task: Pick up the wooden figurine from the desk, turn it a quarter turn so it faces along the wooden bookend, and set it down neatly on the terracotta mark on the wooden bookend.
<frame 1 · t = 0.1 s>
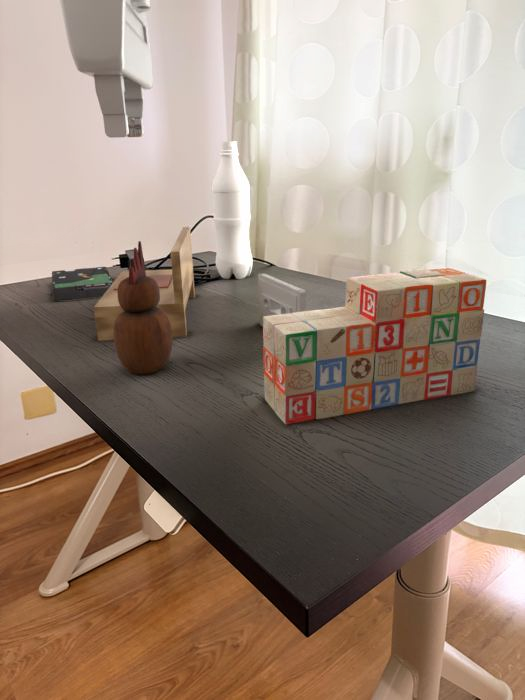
hand: (126, 137, 54), 26 cm above the table, tool pointing down, fingers open, 8 cm apart
stack of blocks: (370, 398, 61), on the table
disk drive: (83, 291, 108), on the table
wooden figurine: (146, 371, 70), on the table
water bottle: (234, 277, 114), on the table
wooden bookend: (152, 316, 90), on the table
cassette: (281, 337, 80), on the table
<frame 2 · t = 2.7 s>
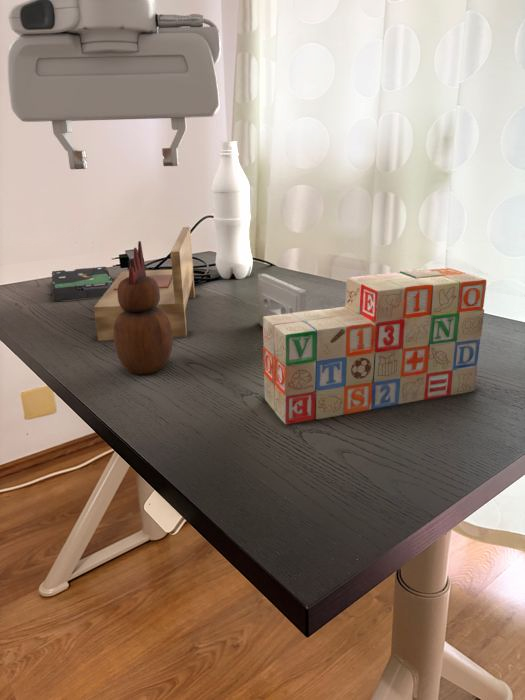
hand: (125, 167, 60), 23 cm above the table, tool pointing down, fingers open, 8 cm apart
nothing on the table moved.
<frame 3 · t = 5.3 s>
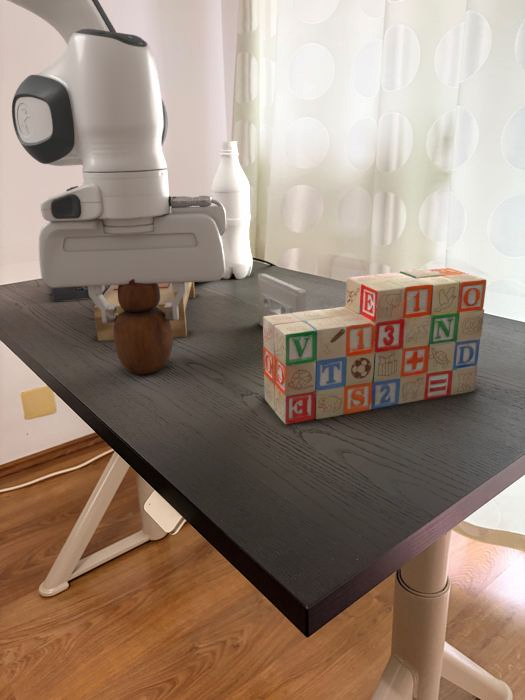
hand: (141, 320, 68), 6 cm above the table, tool pointing down, fingers closed on wooden figurine, 6 cm apart
wooden figurine: (146, 371, 70), on the table, touching gripper
everything else where it was.
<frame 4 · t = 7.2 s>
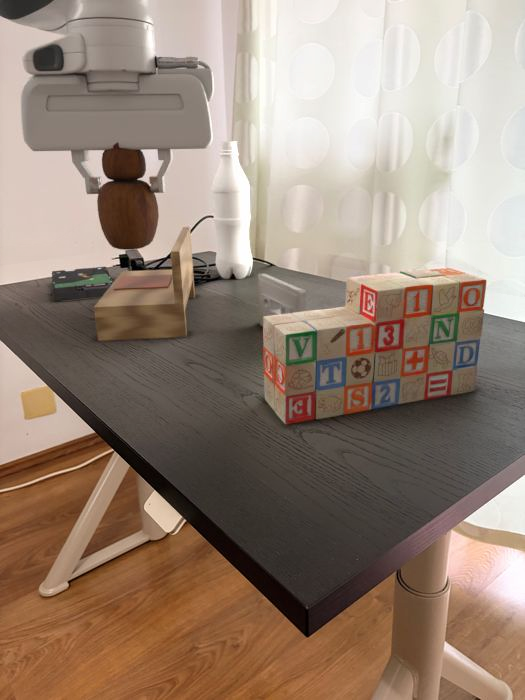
hand: (126, 193, 66), 20 cm above the table, tool pointing down, fingers closed on wooden figurine, 6 cm apart
wooden figurine: (131, 248, 68), point 14 cm above the table, touching gripper
everything else where it was.
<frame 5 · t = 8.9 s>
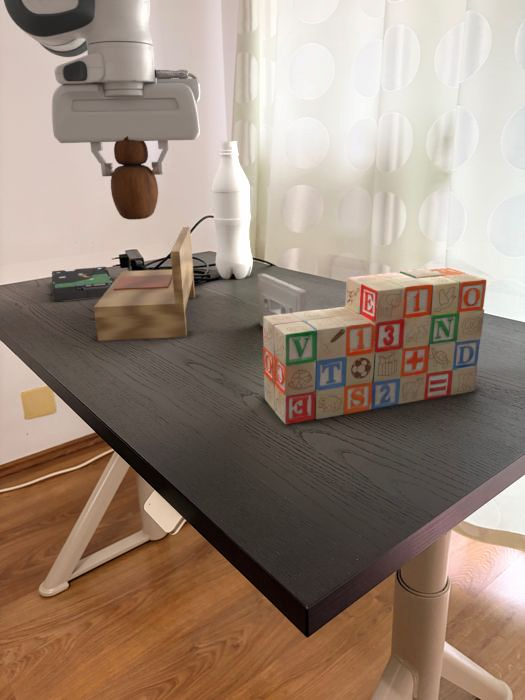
hand: (132, 175, 85), 21 cm above the table, tool pointing down, fingers closed on wooden figurine, 6 cm apart
wooden figurine: (137, 219, 87), point 15 cm above the table, touching gripper
everything else where it was.
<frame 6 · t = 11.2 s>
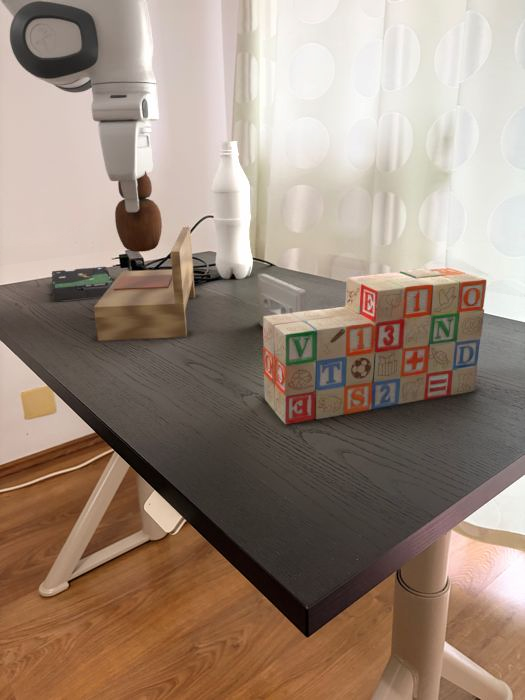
hand: (136, 208, 87), 16 cm above the table, tool pointing down, fingers closed on wooden figurine, 6 cm apart
wooden figurine: (141, 251, 89), point 10 cm above the table, touching gripper
everything else where it was.
when the fingers open (11 cm above the table, at t = 13.0 s): wooden figurine stays where it is, resting on wooden bookend.
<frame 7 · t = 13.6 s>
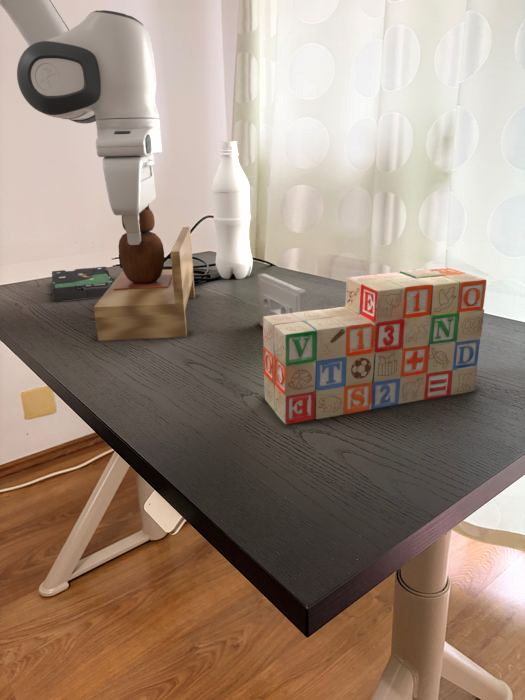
hand: (139, 238, 88), 12 cm above the table, tool pointing down, fingers open, 8 cm apart
wooden figurine: (144, 282, 91), point 5 cm above the table, touching wooden bookend
everything else where it was.
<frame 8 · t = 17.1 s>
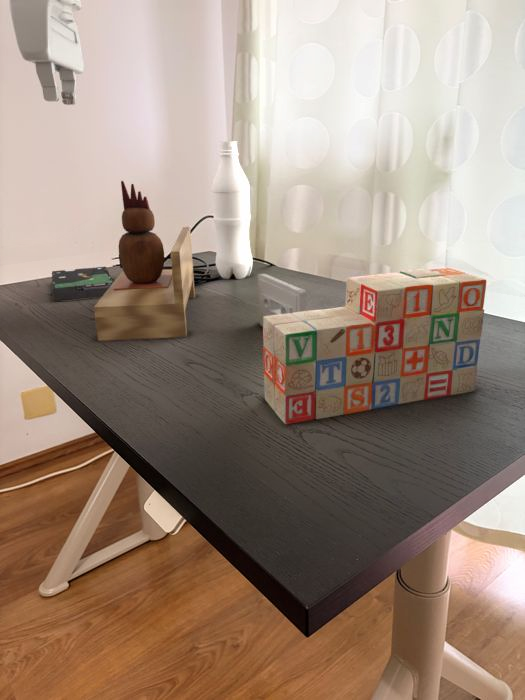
hand: (61, 103, 85), 31 cm above the table, tool pointing down, fingers open, 8 cm apart
nothing on the table moved.
at the end: wooden figurine inside the target area on the wooden bookend (0.1 cm from its centre), point 5.0 cm above the wooden bookend's base; wooden figurine tilted 0°; the gripper is holding nothing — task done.
